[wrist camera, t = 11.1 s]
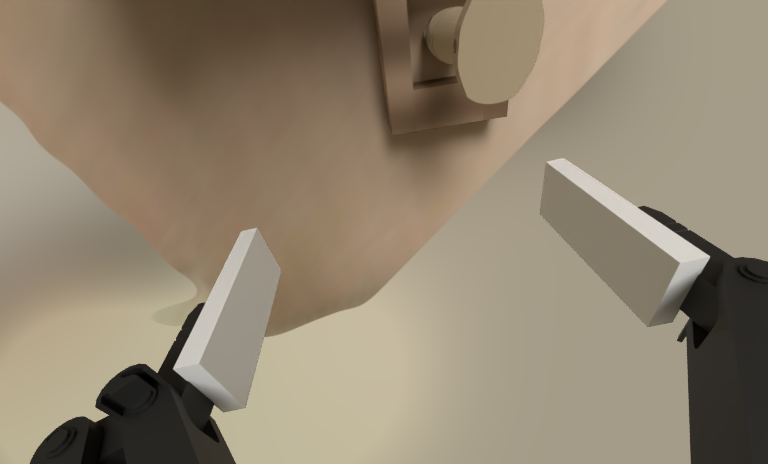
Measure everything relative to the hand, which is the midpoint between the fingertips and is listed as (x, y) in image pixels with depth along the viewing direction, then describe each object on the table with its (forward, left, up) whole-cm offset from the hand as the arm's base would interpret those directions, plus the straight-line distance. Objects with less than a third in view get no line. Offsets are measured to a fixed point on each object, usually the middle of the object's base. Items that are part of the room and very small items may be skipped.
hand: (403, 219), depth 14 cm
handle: (-5, +7, -23) cm, 25 cm away
